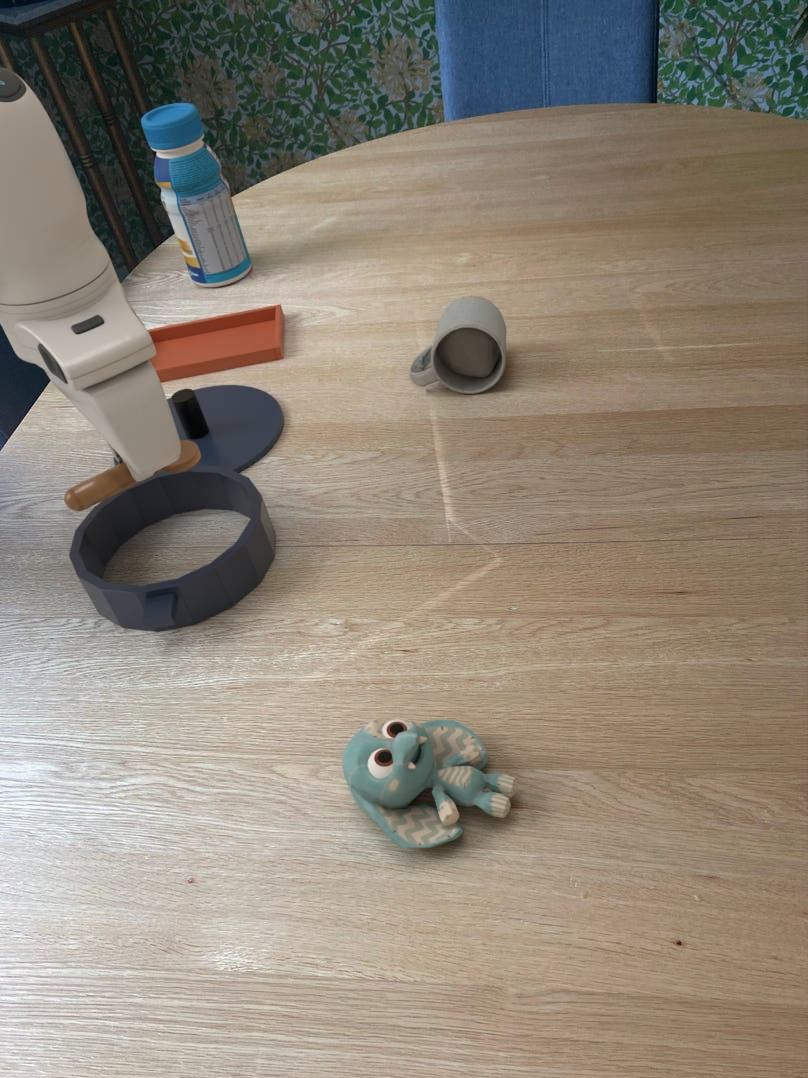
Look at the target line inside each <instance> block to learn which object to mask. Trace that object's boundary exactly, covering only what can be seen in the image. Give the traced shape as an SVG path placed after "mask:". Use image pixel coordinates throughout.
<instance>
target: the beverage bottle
mask: <svg viewBox="0 0 808 1078" xmlns="http://www.w3.org/2000/svg"><path fill="white" fill-rule="evenodd" d="M197 109H198V108H197V107H196V106H195V105H194V104H193V103H189V102H176V103H170V104H165V105H162V106H159V107H155V108H154V109H152V110H150V111H148V112H146V113H145V114H143V116H141V118H140V119H141V120H140V122H141V127H142V130H143V133H144V136H145V138H146V142H147V143H148V147H150V149H151V150H152V151H153V152H156V154H155V159H154V164H153V176H154V177H153V178H154V182H155V184H156V185H157V187H159V188H160V190H161V192H160V200H161V204H162V207H163V209H164V210H165V212H166V213H167V215H168V218H169V221H170V223H171V226H172V229H173V232H174V234H175V237H176V239H177V242H178V246H179V249H180V250H181V253H182V256H183V258H184V261H185V264H186V267H187V271H188V275H189V277H190V279H191V281H192V282H193V283H194V284H195V285H197V286H199V287H201V288H202V287H203V288H218V287H222V286H223V287H224V286H227V285H230V284H233V283H235V282H238V281H240V280H241V279H243V278H244V277H245V276H247V275H248V274H249V272H251V270H252V266H253V265H252V264H253V261H252V258H251V255H250V253H249V251H248V247H247V244H246V241H245V238H244V235H243V231H242V229H241V224H240V222H239V218H238V215H237V212H236V209H235V205H234V203H233V202H234V201H233V198H232V194H231V188H230V184H229V182H228V180H227V178H226V177H225V176H224V175H223V173H222V163H221V161H220V159H219V157H218V155H217V154H216V153H215V151H214V150H213V149H212V148H211V147H210V146H209V145H208V144H207V143H206V142H205V141H204V140H203V139H204V137H205V129H204V126H203V123H202V119H201V115H200V113H199V110H197Z"/></svg>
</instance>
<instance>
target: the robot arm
mask: <svg viewBox="0 0 808 1078" xmlns="http://www.w3.org/2000/svg"><path fill="white" fill-rule="evenodd" d="M44 107H45V106H43V104H42V103H41V101H40V99H39V98H38V96H37V95H36V94H35V92H34V91H33V89H31V87H30V86H29V85H28V84H27V82H26V81H25V80H24V79H23V78H22V77H21V76H20V75H18V73H16V72H14V71H13V70H10V69H9V68H7V67H4V66H1V65H0V326H1V328H2V330H3V331H4V334H5V335H6V337H7V338H6V339H8V342H9V343H10V345H11V347H12V349H13V351H14V353H15V355H16V356H17V357H18V358H19V359H20V360H22V361H24V362H27V363H29V364H35V365H37V366H38V368H41V369H43V370H44V372H45V373H46V375H47V377H48V378H49V380H50V381H51V383H52V384H53V385H54V387H56V388H57V389H58V391H59V392H60V393H61V394H62V395H63V396H64V397H65V398H66V399H67V400H68V401H69V402H70V404H71V405H72V406H73V407H74V408H75V409H76V410H77V411H78V412H79V414H81V415H82V417H84V418H85V420H86V421H87V422H88V423H89V424H90V425H91V426H92V427H93V428H94V429H95V430H96V431H97V433H98V434H99V435H100V436H101V437H102V439H103V440H104V442H105V443H106V444H107V447H108V449H109V451H110V453H111V455H112V457H113V456H114V458H115V459H116V460H117V461H118V462H119V463H120V464H121V463H123V462H124V464H125V466H126V468H127V471H128V472H129V474H130V475H131V476H132V477H133V478H134V479H135V480H136V481H138V482H141V481H143V480H145V479H147V478H149V477H151V476H153V475H154V473H155V471H157V470H159V469H162V468H163V467H165V466H167V465H169V464H171V463H173V462H175V461H176V460H178V459H179V457H180V453H181V444H180V440H179V436H178V433H177V429H176V426H175V423H174V420H173V417H172V414H171V411H170V408H169V405H168V402H167V399H168V398H167V396H166V393H165V390H164V387H163V385H162V382H160V380H159V377H158V375H157V373H156V371H155V369H154V367H153V365H152V363H151V362H150V360H149V359H150V358H152V357H154V356H155V355H156V349H155V346H154V343H153V341H152V338H151V336H150V334H149V332H148V331H147V330H148V328H146V326H145V324H144V323H143V321H142V319H140V318H139V316H138V315H137V312H135V310H134V309H133V307H132V306H131V304H130V301H129V298H128V296H127V294H126V291H125V289H124V287H123V285H122V284H121V282H120V279H119V277H118V274H117V272H116V270H115V267H114V265H113V262H112V259H111V256H110V255H109V252H108V250H107V249H106V246H104V243H103V242H102V241H101V239H99V237H98V236H97V234H96V233H95V231H94V230H93V228H92V225H91V223H90V219H89V217H88V211H87V201H86V196H85V193H84V191H83V187H82V185H81V183H80V180H79V178H78V175H77V174H76V171H75V168H74V165H73V164H72V161H71V159H70V157H69V155H68V152H67V150H66V148H65V145H64V144H63V142H62V140H61V138H60V135H59V133H58V132H57V129H56V128H55V125H54V124H53V123H54V122H52V120H51V118H50V116H49V115H48V112H47V111H46V109H45V108H44ZM114 458H113V459H114Z"/></svg>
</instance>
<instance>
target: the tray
mask: <svg viewBox="0 0 808 1078" xmlns="http://www.w3.org/2000/svg"><path fill="white" fill-rule="evenodd" d="M147 331H148V332H149V334H150V336H151V338H152V341H153V343H154V346H155V349H156V355H155V356H154V357H152V358H150V359H149V360H150V362H151V363H152V365H153V367H154V369H155V371H156V373H157V375H158V377H159V380H160V382H161V383H166V382H171V381H177V380H181V379H187V378H193V377H197V376H202V375H207V374H213V373H219V372H223V371H229V370H234V369H238V368H244V367H249V366H255V365H260V364H265V363H270V362H275V361H281V360H284V339H285V338H284V333H285V313H284V311H283V308H282V304H280V303H279V304H273V305H268V306H263V307H259V308H254V309H249V310H243V311H237V312H231V313H227V314H222V315H216V316H212V317H207V318H201V319H196V320H191V321H186V322H181V323H176V324H175V323H174V324H171V325H165V326H160V327H154V328H149V329H147Z"/></svg>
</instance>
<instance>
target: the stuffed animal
mask: <svg viewBox="0 0 808 1078" xmlns="http://www.w3.org/2000/svg"><path fill="white" fill-rule="evenodd" d="M488 761H489V758H488V753H487V749H486V746H485V745H484V744H483V742H482V741H481V740H480V739H479V737H478V736H477V734H476V733H475V732H474V731H473V730H472V729H470V728H468V727H467V726H465V725H463V724H462V723H460V722H458V721H457V720H455V719H435V720H430V721H425V722H420V723H418V722H416V721H413V720H411V719H409V718H407V717H401V716H394V717H383V716H382V717H381V716H380V717H376V718H373V719H372V720H371V721H369V722H368V723H367V724H366V725H364V726H363V727H362V728H361V729H360V730H358V731H357V732H356V733H355V734H354V735H353V736H352V737H351V739H350V740H348V742H347V744H346V745H345V747H344V748H343V753H342V763H341V764H342V765H341V767H342V773H343V777H344V780H345V782H346V785H347V786H348V788H349V791H350V794H351V796H352V798H353V800H355V802H356V804H357V806H358V807H359V808H360V809H361V810H362V811H363V812H364V813H365V814H366V815H367V816H368V817H369V818H370V819H371V820H372V821H374V822H375V823H376V824H377V825H378V826H379V828H380V829H381V831H383V832H384V834H385V835H386V836H387V837H388V839H390V840H391V841H393V842H394V843H396V844H398V845H399V846H401V847H402V848H404V849H407V850H408V849H411V850H412V849H431V848H435V847H438V846H440V845H444V844H446V843H449V842H452V841H454V840H456V839H458V838H459V837H460V836H462V835H463V833H464V831H463V828H462V826H461V825H460V824H459V823H458V820H459V818H460V813H459V811H458V807H457V806H456V805H458V806H461V807H467V808H470V807H473V806H476V807H478V808H479V809H481V810H482V811H484V812H485V813H486V814H488V815H490V816H492V817H496V818H501V819H504V818H505V817H507V815H508V814H509V812H510V811H511V807H512V804H511V803H512V802H511V800H510V799H511V798H512V797H513V796H514V795H515V793H516V791H517V789H518V784H517V780H516V777H513V776H511V775H509V774H507V773H501V772H496V773H489V774H486V773H484V772H482V771H481V769H483V768H486V767H487V764H488ZM426 789H432V790H431V794H432V797H433V799H434V803H435V805H436V808H435V807H433V806H430V805H428V804H418V805H417V804H416V805H409V804H410V803H411V802H413V801H414V800H415V799H416V798H417V797H418V796H419V795H420V794H421V793H422V792H424V791H425V790H426ZM485 789H489V790H490V791H485ZM484 791H485V792H484Z"/></svg>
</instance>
